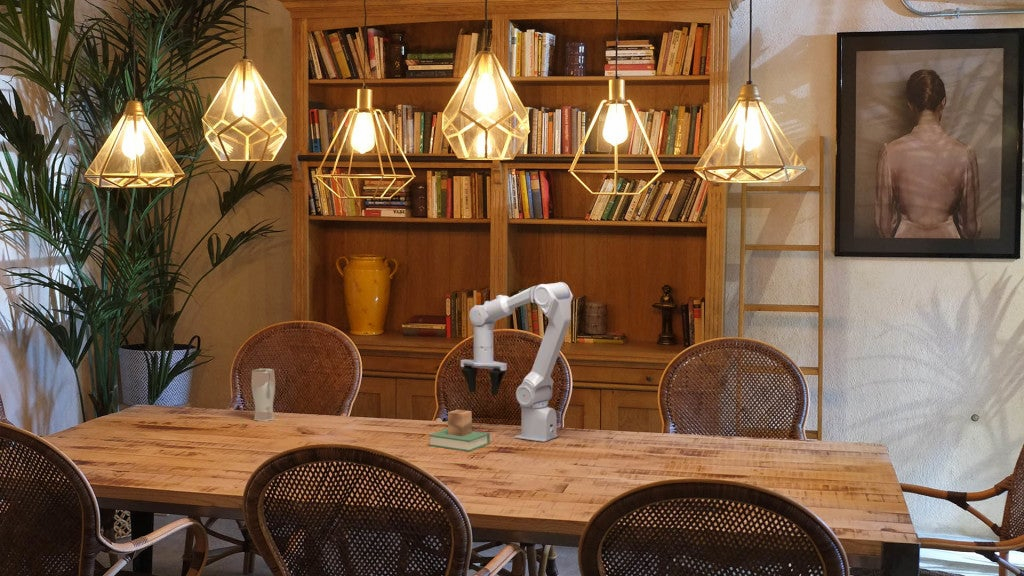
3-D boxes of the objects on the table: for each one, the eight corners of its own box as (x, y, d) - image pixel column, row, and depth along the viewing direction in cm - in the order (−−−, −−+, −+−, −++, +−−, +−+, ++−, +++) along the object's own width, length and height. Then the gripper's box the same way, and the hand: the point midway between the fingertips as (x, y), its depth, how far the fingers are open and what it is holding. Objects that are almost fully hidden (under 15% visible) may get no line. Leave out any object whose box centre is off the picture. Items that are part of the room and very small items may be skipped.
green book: (489, 444, 285) (489, 433, 285) (469, 451, 277) (469, 440, 276) (450, 438, 292) (450, 427, 292) (429, 445, 283) (429, 434, 283)
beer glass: (263, 422, 312) (262, 372, 311) (247, 420, 316) (246, 370, 315) (280, 418, 318) (279, 369, 317) (264, 415, 322) (263, 367, 321)
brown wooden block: (471, 433, 285) (471, 411, 284) (462, 436, 281) (462, 414, 281) (457, 431, 287) (457, 409, 287) (448, 434, 283) (448, 412, 283)
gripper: (454, 346, 302) (455, 393, 303) (497, 350, 295) (497, 397, 296) (468, 343, 308) (468, 389, 309) (510, 347, 301) (510, 393, 302)
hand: (483, 393), depth 303 cm, fingers open, 7 cm apart
